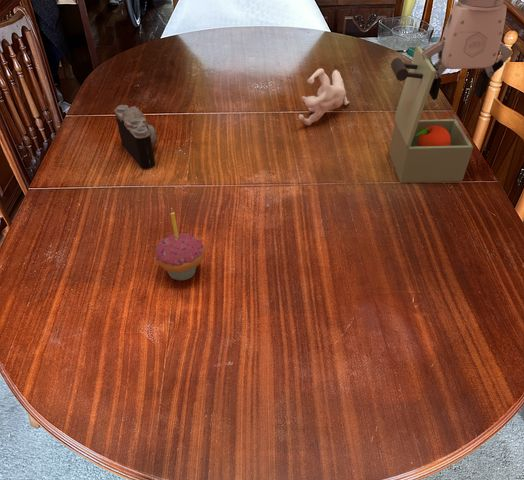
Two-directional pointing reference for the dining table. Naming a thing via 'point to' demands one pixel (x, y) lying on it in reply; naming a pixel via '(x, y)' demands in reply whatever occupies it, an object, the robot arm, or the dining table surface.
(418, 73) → the lid
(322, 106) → the pale pink plastic figure
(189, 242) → the cupcake
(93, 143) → the dining table surface
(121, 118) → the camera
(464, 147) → the green hollow rectangular box
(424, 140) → the clementine
